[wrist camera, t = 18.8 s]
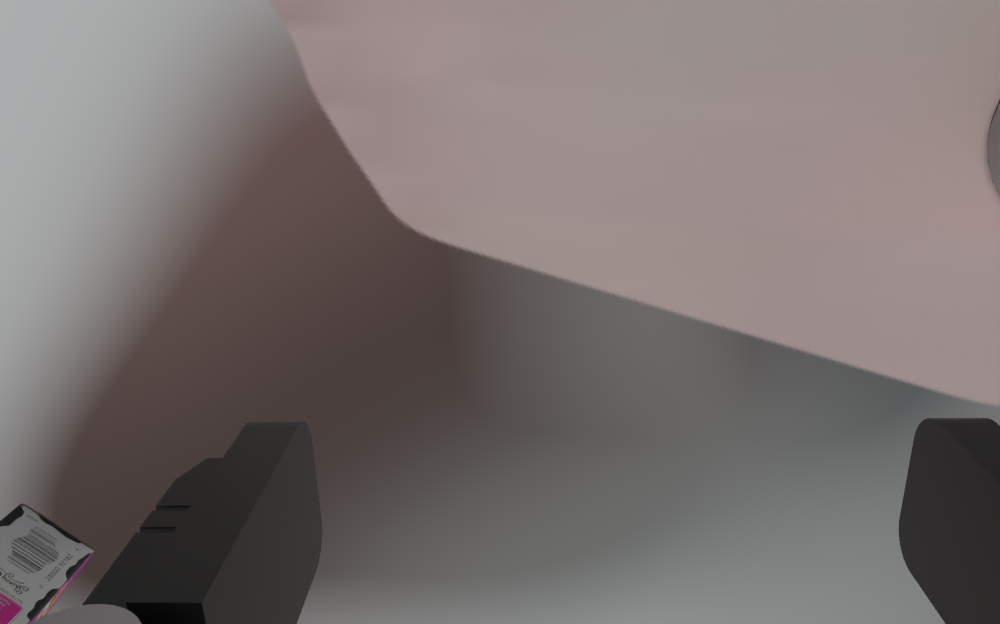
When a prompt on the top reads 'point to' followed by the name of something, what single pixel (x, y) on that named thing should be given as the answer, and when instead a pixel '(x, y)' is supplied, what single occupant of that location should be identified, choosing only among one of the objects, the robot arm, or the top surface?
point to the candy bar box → (35, 564)
